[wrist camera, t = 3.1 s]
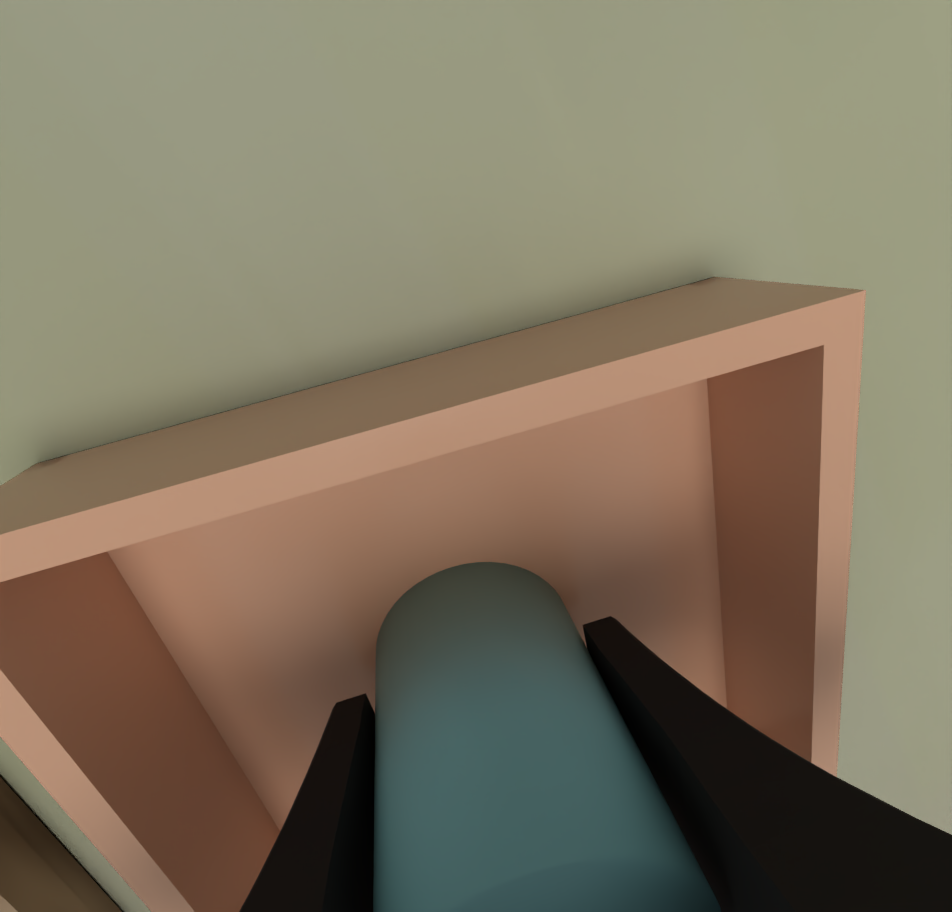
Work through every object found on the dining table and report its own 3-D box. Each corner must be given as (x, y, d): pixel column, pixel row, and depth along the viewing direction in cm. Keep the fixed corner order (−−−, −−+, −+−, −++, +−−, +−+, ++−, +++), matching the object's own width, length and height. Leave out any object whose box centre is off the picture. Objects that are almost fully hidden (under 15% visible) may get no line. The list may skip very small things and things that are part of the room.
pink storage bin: (738, 734, 16) (831, 860, 12) (300, 881, 15) (278, 1058, 12) (715, 277, 10) (866, 290, 7) (35, 463, 10) (-141, 574, 6)
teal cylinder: (582, 686, 13) (730, 1004, 8) (408, 743, 13) (429, 1115, 7) (551, 536, 11) (713, 808, 6) (347, 598, 11) (316, 946, 6)
